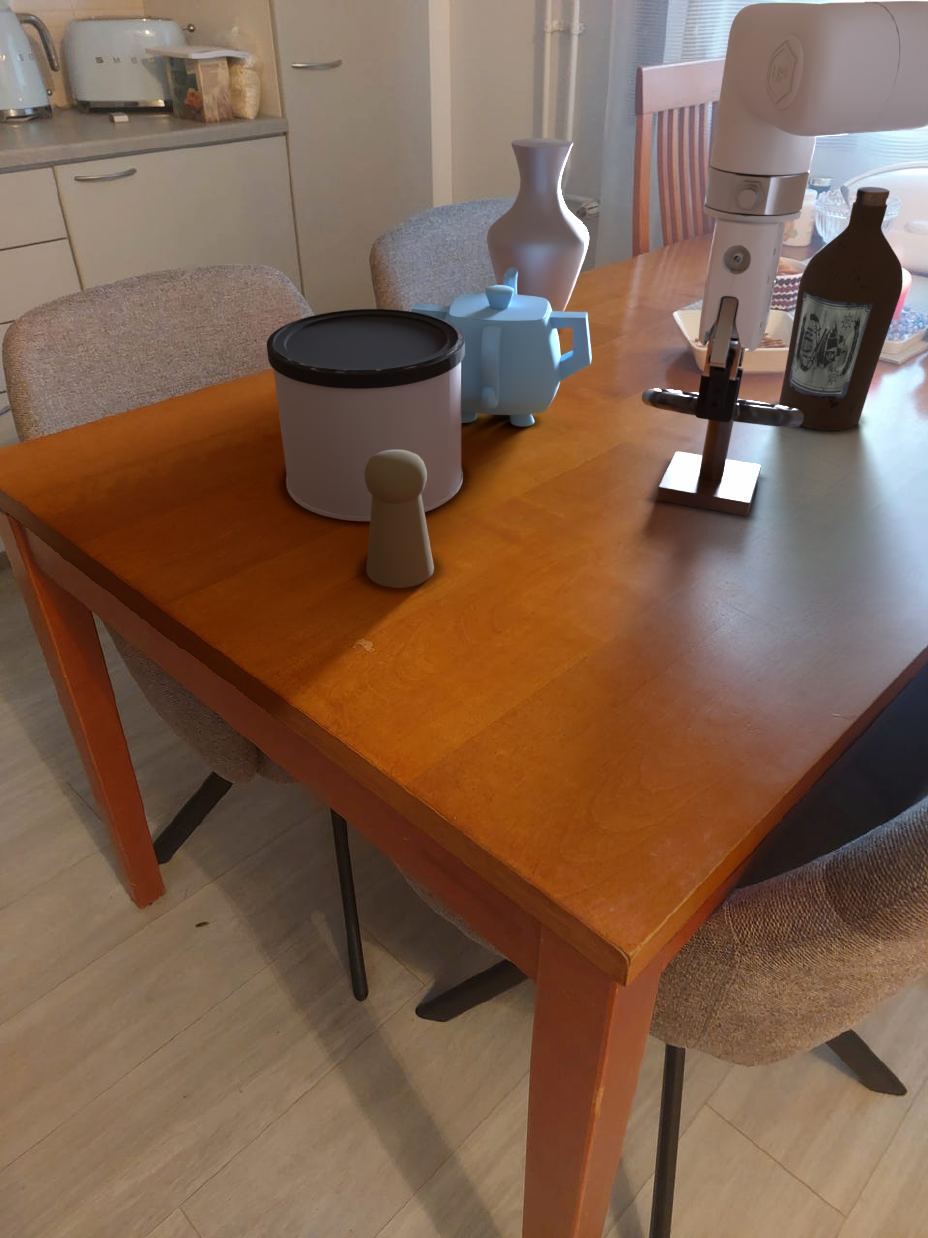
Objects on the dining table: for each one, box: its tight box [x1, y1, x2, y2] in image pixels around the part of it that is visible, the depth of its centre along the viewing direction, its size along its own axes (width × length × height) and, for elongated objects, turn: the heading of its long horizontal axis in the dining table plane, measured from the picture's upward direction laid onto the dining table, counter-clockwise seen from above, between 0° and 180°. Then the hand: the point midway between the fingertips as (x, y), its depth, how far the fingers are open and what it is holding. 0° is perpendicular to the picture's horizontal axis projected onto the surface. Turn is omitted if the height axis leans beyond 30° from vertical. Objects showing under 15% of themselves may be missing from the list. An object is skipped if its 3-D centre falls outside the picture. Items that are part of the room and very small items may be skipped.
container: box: [266, 308, 465, 522], centre depth 90 cm, size 19×19×15 cm
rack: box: [656, 379, 762, 517], centre depth 89 cm, size 9×9×12 cm
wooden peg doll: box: [364, 449, 435, 589], centre depth 77 cm, size 6×6×11 cm
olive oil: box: [778, 186, 904, 432], centre depth 100 cm, size 11×11×25 cm
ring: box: [641, 388, 804, 429], centre depth 87 cm, size 15×15×2 cm
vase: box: [486, 137, 590, 312], centre depth 127 cm, size 14×14×25 cm
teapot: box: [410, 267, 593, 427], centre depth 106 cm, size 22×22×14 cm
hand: (715, 412), depth 81 cm, fingers closed on ring
